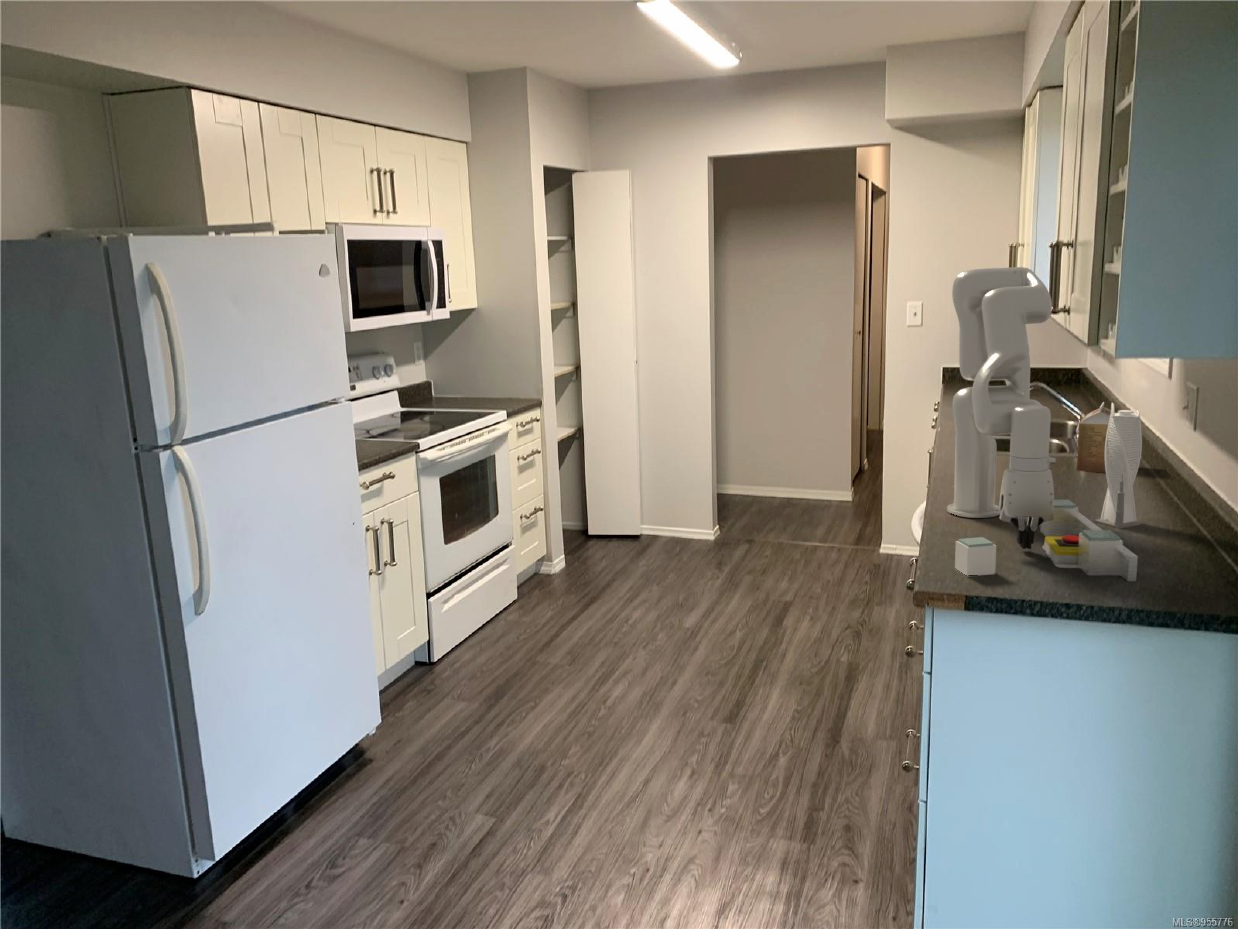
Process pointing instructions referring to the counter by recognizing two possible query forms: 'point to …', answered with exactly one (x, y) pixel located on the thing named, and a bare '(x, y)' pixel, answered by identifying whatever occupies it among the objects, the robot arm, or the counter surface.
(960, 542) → the block
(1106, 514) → the skyscraper
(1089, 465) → the milk carton
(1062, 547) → the emergency button
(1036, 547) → the counter surface
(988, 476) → the robot arm
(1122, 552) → the rail fixture
